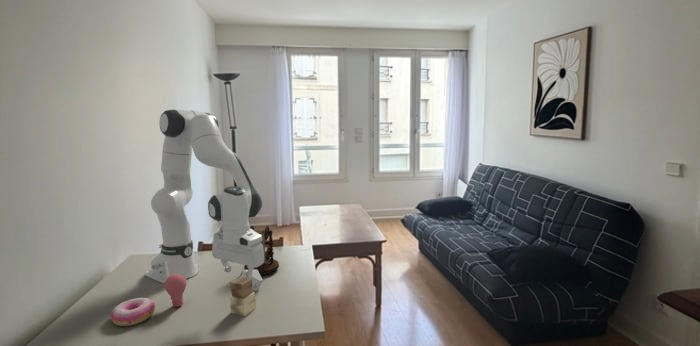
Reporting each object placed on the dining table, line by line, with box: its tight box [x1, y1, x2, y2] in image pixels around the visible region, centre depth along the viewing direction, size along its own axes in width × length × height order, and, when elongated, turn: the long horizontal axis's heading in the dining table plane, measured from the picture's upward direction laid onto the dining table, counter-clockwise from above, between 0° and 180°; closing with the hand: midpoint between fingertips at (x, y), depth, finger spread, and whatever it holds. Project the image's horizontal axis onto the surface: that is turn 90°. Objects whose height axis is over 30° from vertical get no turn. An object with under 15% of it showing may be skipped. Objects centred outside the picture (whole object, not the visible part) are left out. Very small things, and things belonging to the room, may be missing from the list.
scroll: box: [243, 225, 280, 276], centre depth 174 cm, size 15×15×20 cm
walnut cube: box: [230, 276, 254, 299], centre depth 140 cm, size 5×5×5 cm
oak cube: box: [229, 291, 257, 317], centre depth 140 cm, size 6×6×6 cm
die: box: [240, 269, 263, 292], centre depth 156 cm, size 8×9×10 cm
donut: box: [110, 297, 156, 327], centre depth 137 cm, size 14×13×5 cm
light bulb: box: [164, 274, 187, 308], centre depth 144 cm, size 7×7×12 cm
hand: (238, 274), depth 138 cm, fingers open, 8 cm apart
